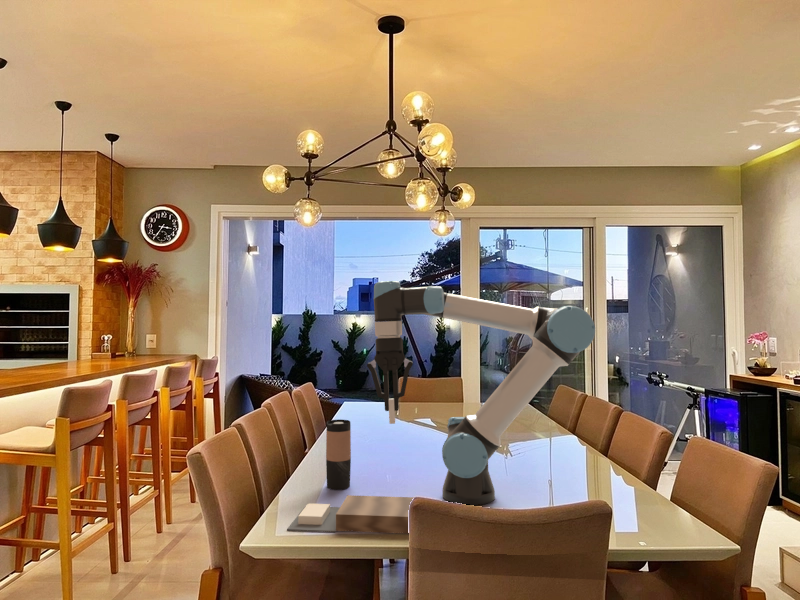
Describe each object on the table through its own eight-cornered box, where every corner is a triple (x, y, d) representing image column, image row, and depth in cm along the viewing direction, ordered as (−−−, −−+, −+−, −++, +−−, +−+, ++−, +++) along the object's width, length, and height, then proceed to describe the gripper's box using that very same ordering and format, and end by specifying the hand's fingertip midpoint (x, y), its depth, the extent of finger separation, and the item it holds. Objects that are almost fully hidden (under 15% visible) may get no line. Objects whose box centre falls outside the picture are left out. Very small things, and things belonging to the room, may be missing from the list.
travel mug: (351, 482, 165) (351, 419, 166) (350, 490, 157) (350, 423, 158) (327, 482, 165) (327, 419, 166) (324, 490, 157) (324, 424, 158)
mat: (348, 509, 141) (348, 507, 141) (334, 532, 125) (334, 530, 125) (305, 507, 143) (305, 506, 143) (286, 530, 127) (286, 529, 127)
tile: (308, 503, 139) (308, 511, 139) (298, 515, 130) (298, 523, 130) (330, 504, 138) (330, 511, 138) (321, 516, 129) (321, 524, 129)
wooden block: (421, 512, 138) (420, 497, 138) (417, 534, 124) (417, 517, 125) (347, 510, 140) (347, 495, 141) (335, 530, 126) (335, 514, 127)
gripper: (412, 335, 147) (416, 419, 146) (366, 337, 147) (370, 421, 146) (412, 336, 140) (416, 424, 138) (364, 338, 140) (367, 426, 139)
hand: (392, 422), depth 142 cm, fingers closed
